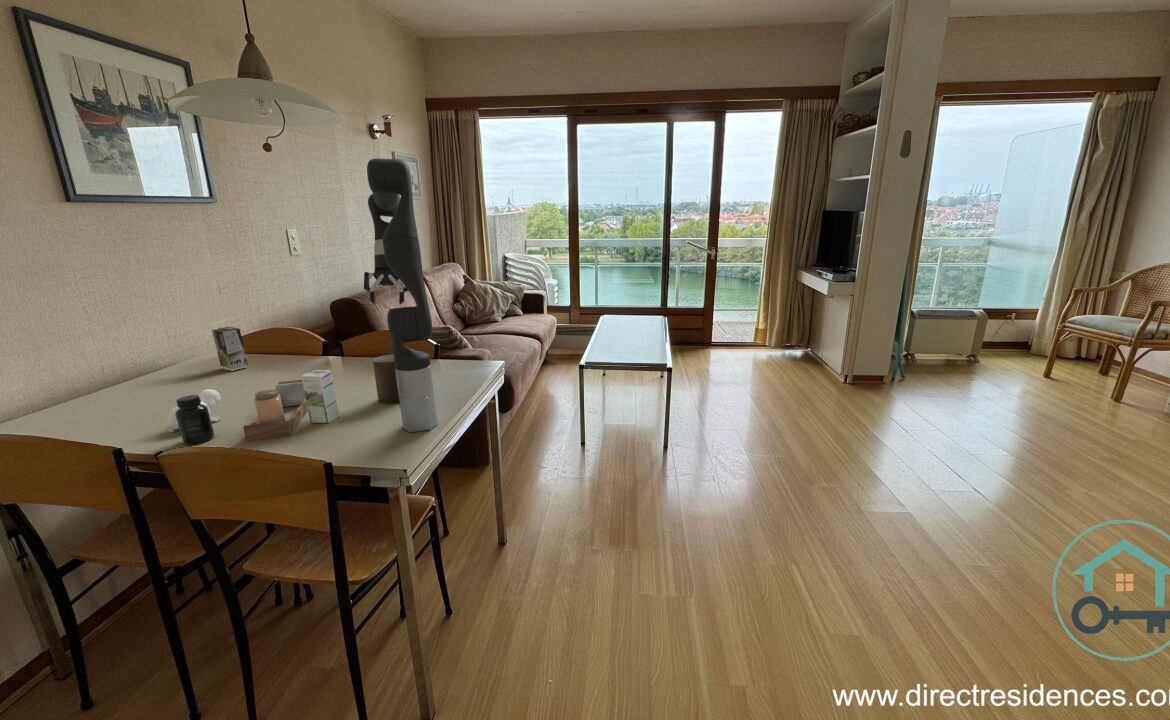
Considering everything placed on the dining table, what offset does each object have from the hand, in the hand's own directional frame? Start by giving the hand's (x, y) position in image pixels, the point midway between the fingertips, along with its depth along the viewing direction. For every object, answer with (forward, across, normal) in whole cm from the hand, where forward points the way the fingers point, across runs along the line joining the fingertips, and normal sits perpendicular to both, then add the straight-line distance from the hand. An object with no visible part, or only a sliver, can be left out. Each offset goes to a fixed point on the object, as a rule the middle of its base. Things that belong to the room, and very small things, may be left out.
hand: (387, 303), depth 165 cm
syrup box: (+35, -14, -21) cm, 44 cm away
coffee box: (+23, -65, +45) cm, 82 cm away
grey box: (+32, -27, -4) cm, 42 cm away
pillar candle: (+31, +3, -9) cm, 33 cm away
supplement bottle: (+39, -44, -26) cm, 64 cm away
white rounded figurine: (+36, -50, -14) cm, 63 cm away
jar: (+37, -26, -26) cm, 52 cm away
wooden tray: (+34, -27, -15) cm, 46 cm away
